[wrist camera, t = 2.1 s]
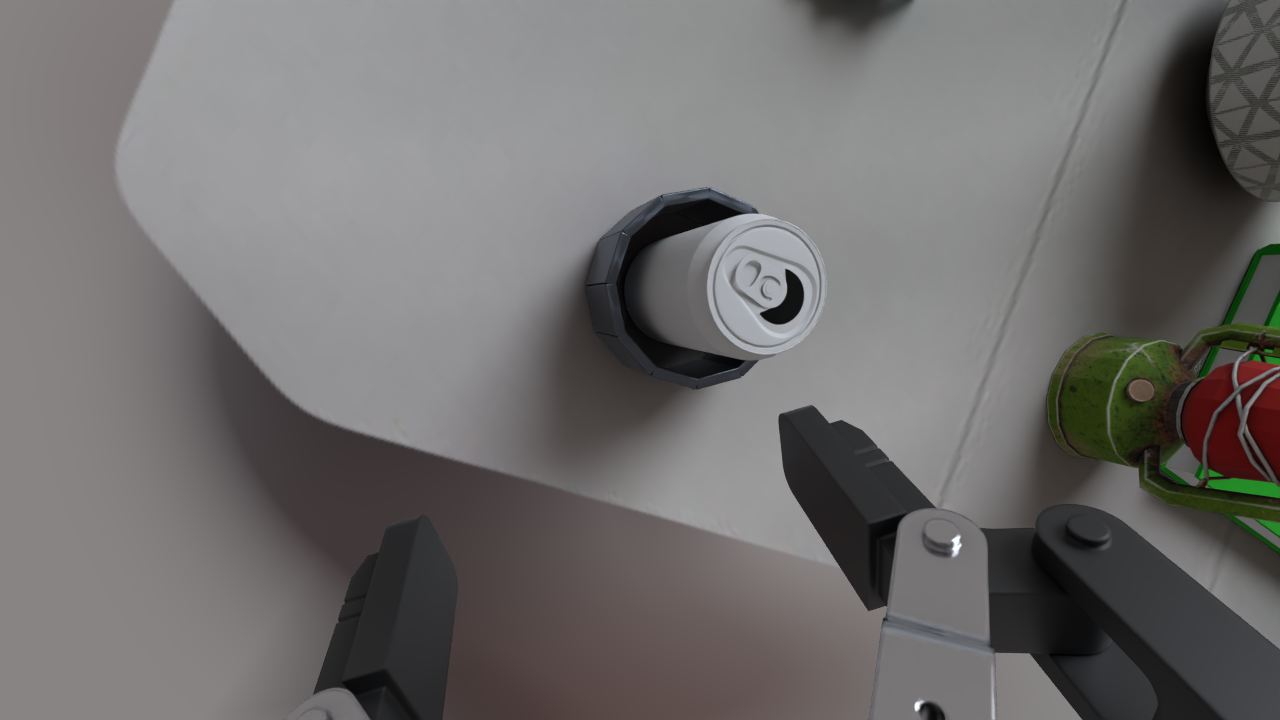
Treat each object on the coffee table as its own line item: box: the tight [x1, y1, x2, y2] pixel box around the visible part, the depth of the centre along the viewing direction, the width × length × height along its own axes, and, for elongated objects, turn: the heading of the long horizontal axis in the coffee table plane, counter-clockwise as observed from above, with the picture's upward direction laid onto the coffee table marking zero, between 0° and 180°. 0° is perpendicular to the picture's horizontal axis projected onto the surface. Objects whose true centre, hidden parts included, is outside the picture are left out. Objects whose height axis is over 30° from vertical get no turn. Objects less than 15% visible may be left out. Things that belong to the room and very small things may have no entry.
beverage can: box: [624, 214, 827, 360], centre depth 29 cm, size 6×6×12 cm
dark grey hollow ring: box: [585, 187, 759, 389], centre depth 32 cm, size 10×10×5 cm
